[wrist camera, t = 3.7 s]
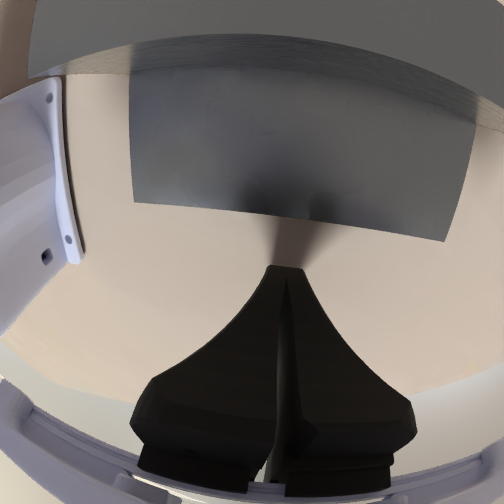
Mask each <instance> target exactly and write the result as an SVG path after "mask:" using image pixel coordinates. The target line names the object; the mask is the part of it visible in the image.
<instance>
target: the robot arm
mask: <svg viewBox="0 0 504 504" xmlns="http://www.w3.org/2000/svg"><path fill="white" fill-rule="evenodd" d="M52 95H53V100H52ZM70 237H71V238H70ZM83 258H84V254H83V250H82V247H81V243H80V239H79V234H78V230H77V226H76V221H75V216H74V211H73V206H72V201H71V195H70V189H69V183H68V176H67V169H66V160H65V151H64V140H63V125H62V82H61V79H60V78H59V77H50V78H47V79H44V80H42V81H39V82H37V83H34V84H32V85H30V86H27V87H25V88H23V89H21V90H19V91H16V92H14V93H12V94H10V95H8V96H6V97H4V98H2V99H0V337H1V336H2V335H4V333H5V332H6V331H7V330H8V329H9V328H10V326H11V325H12V324H13V323H14V321H15V320H16V319H17V318H18V317H19V315H20V314H21V313H22V312H23V311H24V309H25V308H26V307H27V306H28V305H29V304H30V302H31V301H32V300H33V299H34V298H35V297H36V296H37V295H38V293H39V292H40V291H41V290H42V289H43V288H44V287H45V286H46V285H47V284H48V283H49V282H50V280H51V279H52V278H53V277H54V276H55V275H56V274H57V273H58V272H59V271H60V270H61V269H62V268H63V267H64V266H65V265H66V264H67V263H68V262H69V263H73V264H79V263H80V262H81V261H82V260H83ZM130 426H131V428H132V429H133V431H134V432H135V434H136V435H137V436H138V437H139V438H140V440H141V441H142V442H143V443H144V446H143V449H142V452H141V454H140V456H138V455H135V454H133V453H130V452H127V451H124V450H122V449H119V448H117V447H115V446H112V445H110V444H107V443H105V442H103V441H101V440H98V439H96V438H94V437H92V436H90V435H88V434H86V433H83V432H81V431H79V430H78V429H75V428H74V427H72V426H70V425H68V424H66V423H64V422H63V421H61V420H59V419H57V418H55V417H54V416H52V415H50V414H49V413H47V412H45V411H44V410H42V409H41V408H39V407H37V406H36V405H34V403H33V402H32V401H31V400H30V398H29V397H28V396H27V395H25V394H24V393H23V392H22V391H21V390H19V389H18V388H17V387H15V386H14V385H12V384H11V383H10V382H8V381H7V380H6V379H2V381H1V383H0V449H1V450H2V451H3V452H4V453H5V454H6V455H7V456H8V457H9V458H10V459H11V460H12V461H13V462H14V463H15V464H17V466H18V467H20V468H21V469H22V470H23V471H24V472H25V473H26V474H27V475H28V476H30V477H31V478H32V479H33V480H34V481H36V482H37V483H38V484H39V485H40V486H42V487H43V488H44V489H46V490H47V491H49V492H50V493H51V494H52V495H53V496H55V497H56V498H58V499H59V500H60V501H62V502H63V503H65V504H181V502H182V499H181V498H180V497H177V496H174V495H172V494H170V493H169V492H168V491H167V490H164V489H161V488H158V487H155V486H152V485H150V484H147V483H144V482H142V481H139V480H137V479H135V478H134V477H133V475H135V476H138V477H140V478H143V479H146V480H149V481H152V482H155V483H159V484H162V485H165V486H169V487H172V488H176V489H180V490H183V491H187V492H192V493H196V494H201V495H205V496H211V497H216V498H222V499H228V500H235V501H243V502H251V503H262V504H263V503H264V504H338V503H348V502H357V501H364V500H371V499H378V498H383V497H385V498H384V499H383V500H382V501H378V502H373V503H368V504H491V503H493V502H494V501H496V500H497V499H499V498H500V497H501V496H503V495H504V437H503V438H501V439H499V440H497V441H495V442H493V443H492V444H490V445H489V446H487V447H486V448H484V449H483V450H482V451H481V452H478V453H476V454H473V455H470V456H468V457H465V458H462V459H459V460H457V461H453V462H450V463H447V464H444V465H441V466H437V467H434V468H430V469H426V470H423V471H419V472H414V473H410V474H405V475H401V476H395V477H390V466H391V465H393V463H394V456H393V453H395V452H396V451H398V450H399V449H401V448H402V447H403V446H405V445H406V444H408V443H409V442H410V441H411V440H412V439H413V438H414V437H415V436H416V434H417V427H416V421H415V415H414V412H413V408H412V405H411V402H410V401H409V400H408V399H407V398H405V397H404V396H403V395H401V394H400V393H399V392H397V391H396V390H395V389H393V388H392V387H391V386H389V385H388V384H387V383H386V382H384V381H383V380H382V379H381V378H380V377H379V376H378V375H377V374H375V373H374V372H373V371H372V370H371V369H370V368H369V367H368V366H367V365H366V364H365V363H364V362H363V361H362V360H361V359H360V358H359V357H358V356H357V354H356V353H355V352H354V351H353V350H352V349H351V348H350V347H349V345H348V344H347V343H346V342H345V340H344V339H343V338H342V337H341V335H340V334H339V333H338V331H337V330H336V328H335V327H334V325H333V324H332V322H331V321H330V319H329V318H328V316H327V315H326V313H325V311H324V310H323V308H322V306H321V304H320V303H319V301H318V299H317V297H316V295H315V294H314V292H313V290H312V288H311V286H310V283H309V281H308V279H307V277H306V274H305V272H304V271H303V269H299V268H291V267H283V266H275V265H269V266H268V267H267V268H266V272H265V274H264V276H263V278H262V280H261V282H260V284H259V285H258V287H257V288H256V290H255V291H254V293H253V294H252V296H251V297H250V299H249V300H248V301H247V303H246V304H245V305H244V306H243V308H242V309H241V310H240V311H239V313H238V314H237V315H236V316H235V317H234V318H233V319H232V320H231V321H230V322H229V323H228V324H227V325H226V326H225V327H224V328H223V329H222V330H221V331H220V332H219V333H218V334H217V335H216V336H215V337H214V338H212V339H211V340H210V341H209V342H208V343H206V344H205V345H204V346H203V347H201V348H200V349H199V350H197V351H196V352H194V353H193V354H192V355H190V356H189V357H187V358H186V359H184V360H183V361H181V362H180V363H178V364H177V365H175V366H173V367H171V368H170V369H168V370H166V371H164V372H163V373H161V374H159V375H157V376H155V377H153V378H152V379H151V381H150V382H149V383H148V385H147V386H146V388H145V389H144V391H143V393H142V395H141V396H140V398H139V400H138V402H137V404H136V407H135V409H134V412H133V415H132V417H131V420H130ZM266 460H267V464H266V470H265V475H264V481H263V483H262V482H254V479H255V477H256V475H257V473H258V471H259V470H260V469H262V467H263V465H264V464H265V462H266Z"/></svg>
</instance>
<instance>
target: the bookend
mask: <svg viewBox="0 0 504 504" xmlns="http://www.w3.org/2000/svg"><path fill="white" fill-rule="evenodd" d="M67 74H130V80H129V138H130V159H131V173H132V186H133V196H134V202H137V203H151V204H164V205H177V206H188V207H199V208H210V209H220V210H230V211H239V212H248V213H257V214H266V215H274V216H282V217H290V218H298V219H306V220H313V221H320V222H327V223H334V224H341V225H348V226H355V227H361V228H367V229H374V230H380V231H386V232H392V233H398V234H403V235H409V236H415V237H420V238H426V239H431V240H436V241H441V242H444V241H445V239H446V236H447V233H448V231H449V228H450V225H451V222H452V219H453V216H454V213H455V210H456V207H457V204H458V201H459V197H460V194H461V190H462V187H463V183H464V180H465V176H466V172H467V168H468V163H469V159H470V154H471V150H472V144H473V139H474V134H475V127H476V124H477V125H481V126H484V127H488V128H491V129H494V130H497V131H500V132H503V133H504V6H503V5H502V4H501V3H499V2H498V1H496V0H37V4H36V8H35V13H34V18H33V24H32V30H31V37H30V45H29V54H28V66H27V78H34V77H43V76H53V75H67Z"/></svg>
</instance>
